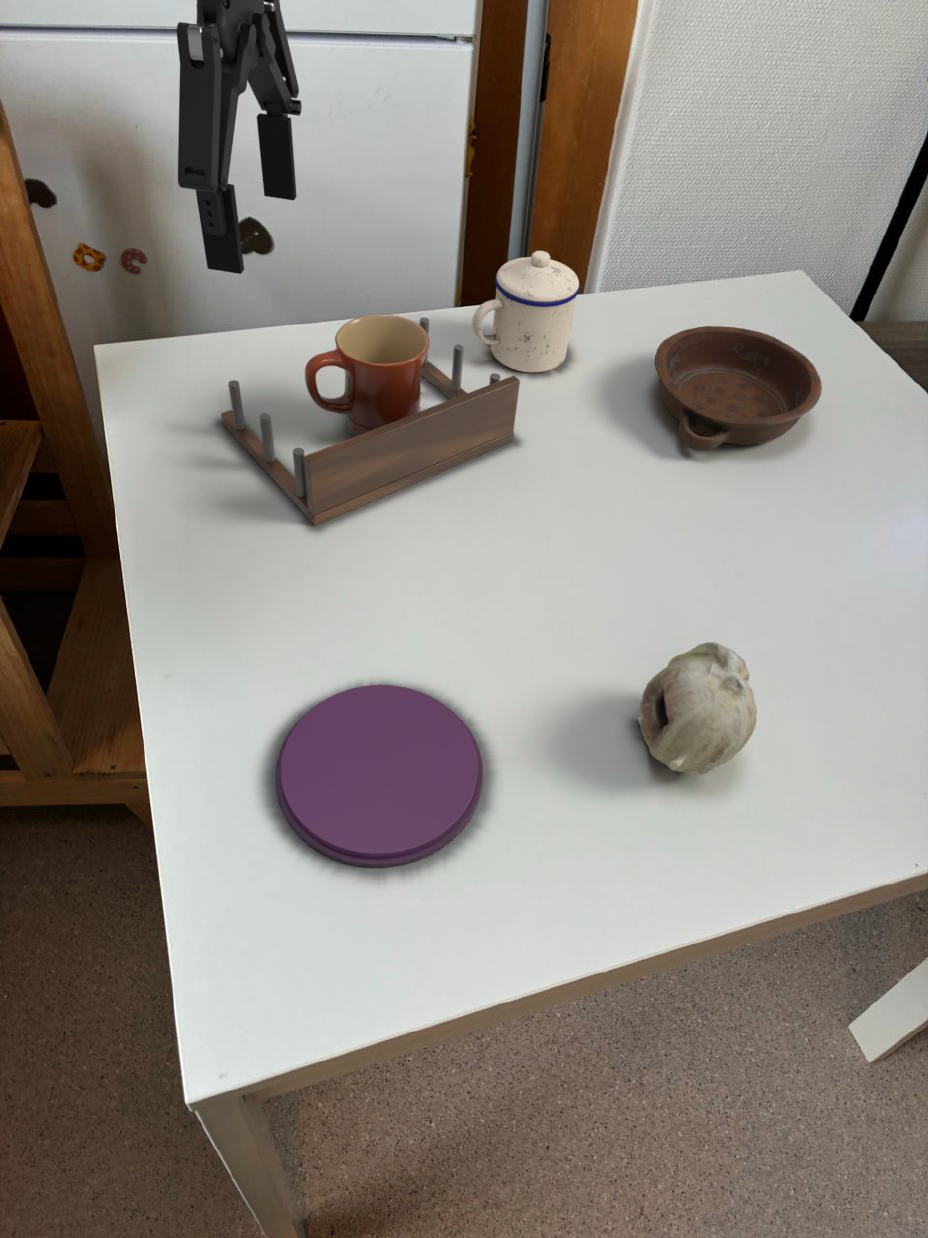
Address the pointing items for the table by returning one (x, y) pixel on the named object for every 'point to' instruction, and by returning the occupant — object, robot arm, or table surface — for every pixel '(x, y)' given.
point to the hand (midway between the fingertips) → (254, 231)
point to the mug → (374, 371)
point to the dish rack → (388, 444)
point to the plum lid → (379, 776)
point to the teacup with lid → (530, 313)
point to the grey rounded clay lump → (698, 709)
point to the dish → (734, 385)
